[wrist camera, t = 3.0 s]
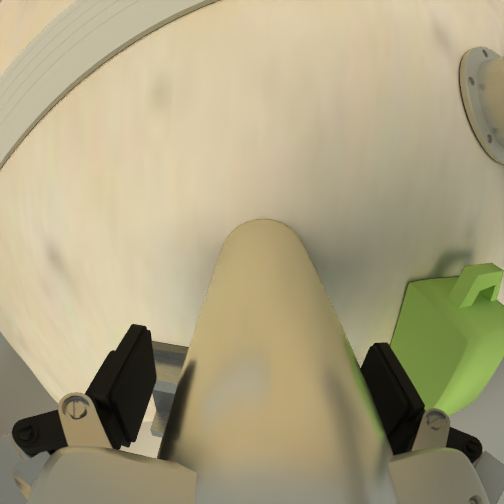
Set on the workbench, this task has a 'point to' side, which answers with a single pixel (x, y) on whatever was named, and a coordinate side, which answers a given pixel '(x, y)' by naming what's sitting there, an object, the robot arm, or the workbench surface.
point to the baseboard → (74, 56)
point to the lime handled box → (451, 336)
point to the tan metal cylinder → (275, 387)
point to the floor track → (166, 381)
